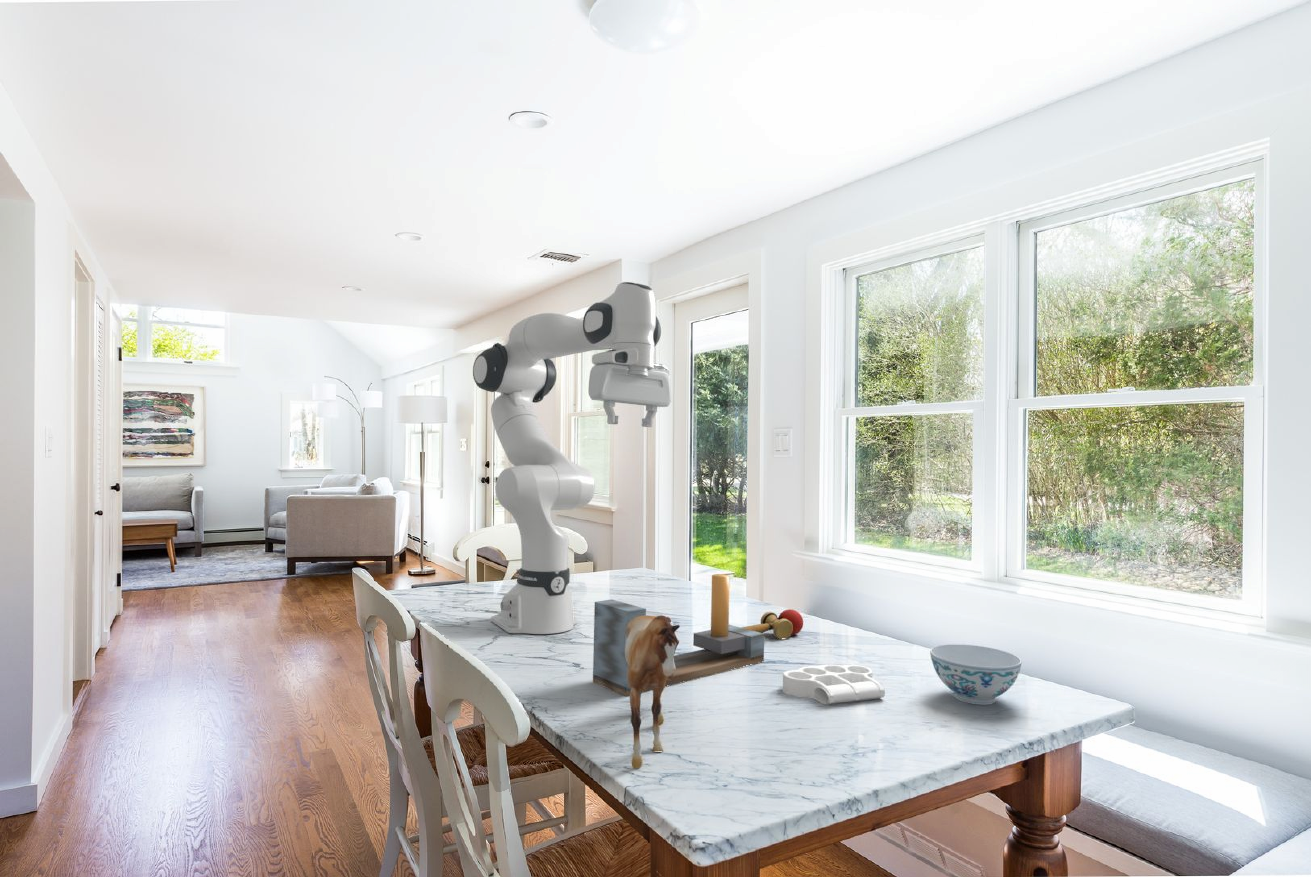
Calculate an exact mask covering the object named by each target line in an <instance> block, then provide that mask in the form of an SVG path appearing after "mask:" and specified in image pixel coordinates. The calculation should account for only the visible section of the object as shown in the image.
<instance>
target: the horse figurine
mask: <svg viewBox="0 0 1311 877" xmlns="http://www.w3.org/2000/svg"><path fill="white" fill-rule="evenodd" d="M671 622H672V620H671V618H670V617H669V616H666V615H656V616H655V615H647V614H646V615H644V616H639V617H636V618H634V619H633V620H631V621H630V622H629V624H628V626H627V640H626V644H625V658H626V662H627V664H628V665H629V669H628V675H627V679H628V683H629V686H630V688H631V691H630V696H629V705H630V706H629V707H630V711H631V712H630V713H631V715H630V716H631V717H630V722H631V726H632V729H633V744H632V745H633V746H632V750H633V754H632V759H631V767H632V768H633V769H640V768H641V767H642V765H643V756H642V754H641V753H640V752H641V750H642V749H641V748H642V745H641V740H640V728H641V725H642V720H641V713H642V712H641V696H642V693H644V692H643V691H644V690H645V689H647V688H648V687H650V686H652V688H653V690H652V704H651V709H650V710H651V714H652V732H651V733H652V735H653V741H652V744H653V746H652V751H653V750H654V751H662V752H664V749H663V746H662V740H661V738H660V734H661V729H660V726H662V725H663V724H664V722H665V718H664V714H663V711H662V708H663V704H662V701H661V697H662V693H663V691H664V689H665V683H666V681H668V682H672V681H671V680H670V679H668V678H671V677H673V672H674V671H675V670H676V667H675V663H674V656H675V653H676V650H677V647H678V645H679V643H680V640H679V639H678V638H677V635H676V632H677V630H678V629H679V628H680V627H681V626H680V624H675V625H672V624H671ZM654 751H653V752H654ZM639 767H640V768H639Z"/></svg>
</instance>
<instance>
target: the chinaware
mask: <svg viewBox="0 0 1311 877" xmlns="http://www.w3.org/2000/svg"><path fill="white" fill-rule="evenodd" d="M929 654H930V659H931V662H932V666H933V668H934V671H935V674H936V675H937V676H938V678H939V679H940V680H941V682H942V683H943V684H944V685H945V686H946V687H947V688H948V689H950V691H952V692H953V696H954V698H956V700H959V701H961V702H963V703H967V704H970V705H971V704H973V705H981V706H984V705H992V704H994V703H995V701H996V698H997V697H1000V696H1001V695H1003V694H1005V693H1006V692H1008V691H1009V689H1010V688H1012V686H1013V685H1014V683H1015V682H1016V681H1017V679H1018V677H1019V674H1020V672H1021V667H1022V659H1021V658H1020V657H1019V656H1018V655H1015V654H1013V653H1011V652H1009V651H1005V650H1001V649H999V648H998V649H997V648H994V647H989V646H984V645H983V646H981V645H974V644H973V645H972V644H964V643H963V644H960V643H958V644H957V643H956V644H955V643H954V644H953V643H952V644H950V643H949V644H948V643H947V644H940V645H936V646H932V648H930V650H929Z"/></svg>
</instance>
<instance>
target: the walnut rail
mask: <svg viewBox="0 0 1311 877" xmlns="http://www.w3.org/2000/svg"><path fill="white" fill-rule="evenodd" d="M593 611H594V615H593V617H594V618H593V622H594V623H593V656H592V657H593V662H592V663H593V664H592V669H593V670H592V683H594V684H596V685H598V686H601V685H602V686H601V687H603V686H604V687H603V688H606V689H609V690H610V689H611V691H613V692H615V693H618V694H620V695H622V696H625V697H630V691H631V688H630V686H629V683H628V679H627V675H628V669H629V665H628V664H627V662H626V658H625V644H626V640H627V626H628V624H629V622H630V621H631V620H633V619H634V618H636V617H639V616H644V615H647V608H645V607H641V606H638V605H634V604H630V603H627V602H624V601H623V602H622V601H619V600H615V599H607V600H598V601H594V610H593ZM728 632H732V633H736V634H739V635H743V636H746V649H742V650H737V651H733V652H728V653H724V654H719V653H716V652H713V651H710V650H706V649H703V648H702V649H699V650H694V651H690V652H685V653H681V654H677V655H675V654H674V663H675V667H676V670H675V671H674V672H673V677H671V678H668V679H670V680H671V681H672V682H668V681H666V683H665V686H666V687H668V686H667V685H670V686H674V685H678V684H681V683H680V682H682V683H684V682H683V681H686V682H690V681H693V679H694V680H697V678H698V679H701V678H700V677H702V678H704V677H705V678H706V677H708V676H713V675H716V673H717V674H721V673H724V672H729V671H732V670H731V669H733V670H735V669H734V668H737V669H741V668H744V667H743V666H745V667H747V666H746V665H749V666H751V665H750V664H753V665H756V664H755V663H757V664H759V663H758V662H761V663H763V662H762V661H764V662H765V633H759V632H756V631H752V630H748V629H744V628H741V627H739V626H735V625H732V624H729V631H728ZM740 667H741V668H740ZM728 670H729V671H728ZM712 674H713V675H712ZM650 691H653V688H652V686H650V687H648V688H647V689H645V690H644V691H643V692H642V693H645V692H650Z"/></svg>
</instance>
